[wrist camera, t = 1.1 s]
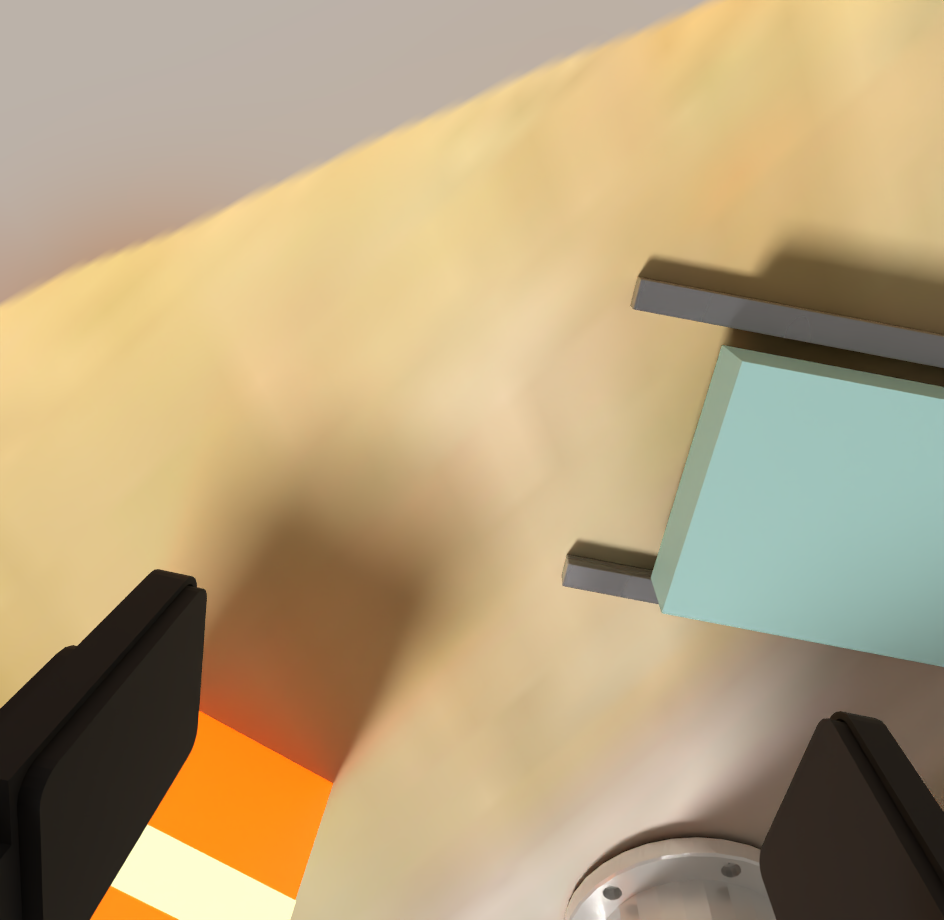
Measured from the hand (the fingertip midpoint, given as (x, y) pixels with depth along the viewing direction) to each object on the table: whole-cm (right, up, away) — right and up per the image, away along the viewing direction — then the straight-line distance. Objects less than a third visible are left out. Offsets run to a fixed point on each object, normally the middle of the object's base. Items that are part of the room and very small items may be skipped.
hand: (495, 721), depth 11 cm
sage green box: (+13, +3, +16) cm, 21 cm away
